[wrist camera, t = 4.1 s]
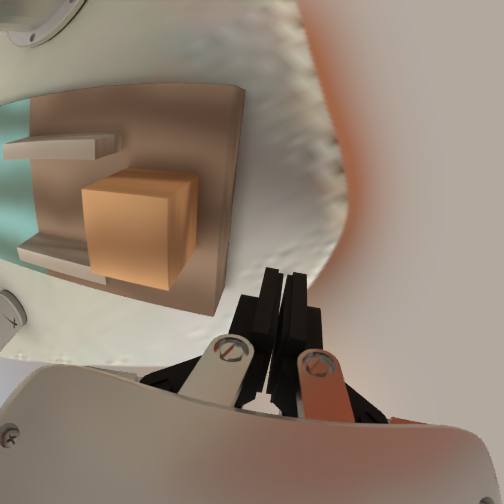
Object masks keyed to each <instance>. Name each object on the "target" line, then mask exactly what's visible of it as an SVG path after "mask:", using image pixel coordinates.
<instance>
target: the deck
mask: <svg viewBox="0 0 504 504" xmlns="http://www.w3.org/2000/svg"><path fill="white" fill-rule="evenodd" d="M244 97H245V90H244V89H242V88H239V87H237V86H235V85H223V84H203V83H147V84H127V85H114V86H103V87H94V88H86V89H79V90H72V91H65V92H59V93H54V94H48V95H43V96H38V97H33V98H29V99H25V100H20V101H16V102H12V103H9V104H5V105H1V106H0V259H3V260H6V261H9V262H12V263H14V264H17V265H20V266H23V267H26V268H29V269H32V270H35V271H38V272H41V273H44V274H47V275H51V276H54V277H57V278H60V279H64V280H67V281H70V282H74V283H77V284H80V285H84V286H87V287H91V288H94V289H98V290H102V291H105V292H109V293H113V294H117V295H120V296H124V297H128V298H132V299H136V300H140V301H144V302H148V303H153V304H157V305H161V306H165V307H170V308H174V309H179V310H183V311H188V312H193V313H197V314H202V315H207V316H212V317H214V314H215V312H216V309H217V306H218V304H219V301H220V298H221V296H222V293H223V290H224V287H225V275H226V264H227V253H228V243H229V232H230V222H231V212H232V202H233V193H234V183H235V174H236V165H237V156H238V147H239V139H240V130H241V122H242V114H243V105H244ZM126 168H139V169H151V170H162V171H172V172H182V173H191V174H200V180H199V195H198V213H197V233H196V249H195V251H194V252H193V254H192V255H191V257H190V258H189V260H188V261H187V263H186V265H185V266H184V268H183V269H182V271H181V272H180V274H179V275H178V277H177V279H176V280H175V282H174V283H173V285H172V286H171V288H170V290H169V291H167V290H162V289H158V288H153V287H149V286H144V285H140V284H136V283H131V282H127V281H123V280H119V279H115V278H111V277H107V276H103V275H99V274H95V273H92V272H91V266H90V260H89V254H88V247H87V240H86V232H85V223H84V214H83V203H82V190H81V189H83V188H85V187H87V186H89V185H91V184H93V183H95V182H97V181H99V180H101V179H104V178H106V177H108V176H110V175H112V174H114V173H117V172H119V171H121V170H123V169H126Z"/></svg>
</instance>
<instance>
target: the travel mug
mask: <svg viewBox="0 0 504 504" xmlns="http://www.w3.org/2000/svg"><path fill="white" fill-rule="evenodd" d="M25 323H26V315H25V312H24V310H23V308H22V306H21V304H20V303H19V302H18V300H17V299H16V298H15V297H14V296H13V295H12V294H11V293H9V292H8V291H1V292H0V351H1V350H2V349H3V348H4V347H5V346H6V344H7V343H8V342H9V341H10V340H11V339H12V338H13V337H14V335H15V334H16V333H17V332H18V331H19V330H20V329H21V328H22V327H23V326H24V325H25Z"/></svg>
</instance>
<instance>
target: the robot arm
mask: <svg viewBox="0 0 504 504" xmlns="http://www.w3.org/2000/svg"><path fill="white" fill-rule="evenodd" d="M84 1H85V0H0V31H7V34H8V37H9V39H10V41H11V42H12V43H13V44H15V45H16V46H20V47H34V46H37V45H40V44H42V43H44V42H46V41H47V40H49V39H50V38H52V37H53V36H54V35H56V34H57V33H58V32H59V31H60V30H61V29H62V28H63V27H64V26H65V25H66V24H67V23H68V22H69V21H70V20H71V19H72V17H73V16H74V15H75V14H76V12H77V11H78V10H79V8H80V7H81V6H82V4H83V3H84ZM283 275H284V274H282V273H279V269H274V268H268V267H266V269H265V273H264V278H263V282H262V286H261V291H260V295H259V298H258V297H253V296H248V295H241V296H240V299H239V302H238V306H237V309H236V312H235V315H234V318H233V321H232V324H231V327H230V330H229V333H228V334H225V335H220V336H218V337H216V338H214V339H213V340H212V341H211V343H210V344H209V346H208V347H207V349H206V350H205V352H204V354H203V355H202V356H199V357H196V358H193V359H191V360H188V361H185V362H182V363H179V364H176V365H173V366H171V367H168V368H165V369H162V370H159V371H156V372H153V373H150V374H148V375H146V376H144V377H137V374H135V373H128V372H121V371H114V370H108V369H101V368H95V367H90V366H77V365H66V364H53V365H46V366H43V367H41V368H39V369H37V370H35V371H34V372H32V373H31V374H30V375H29V376H27V377H26V378H25V379H24V380H23V381H22V382H21V383H20V384H19V385H18V387H17V388H16V389H15V390H14V391H13V392H12V393H11V395H10V396H9V397H8V399H7V400H6V401H5V403H4V404H3V405H2V407H1V408H0V504H502V502H501V496H500V490H499V485H498V481H497V477H496V473H495V469H494V466H493V463H492V460H491V457H490V455H489V452H488V450H487V448H486V446H485V444H484V442H483V441H482V440H481V439H480V438H479V437H478V436H477V435H475V434H473V433H472V432H469V431H467V430H463V429H460V428H457V427H452V426H446V425H434V424H426V423H420V422H415V421H409V420H405V419H400V418H395V417H391V418H390V419H386V417H385V415H384V414H382V412H381V411H379V410H378V409H377V408H376V407H374V406H373V405H372V404H370V403H369V402H368V401H367V400H366V399H364V398H363V397H362V396H361V395H360V394H358V393H357V392H356V391H355V390H354V389H352V388H351V387H350V386H349V385H348V384H346V383H345V381H344V378H343V374H342V371H341V367H340V364H339V362H338V360H337V359H336V357H335V356H334V355H332V354H331V353H329V352H327V351H324V350H323V341H322V323H321V310H320V308H315V307H309V306H307V274H302V273H296V272H293V275H287V279H286V284H285V289H284V293H283V298H282V303H281V307H280V300H281V292H282V283H283ZM279 308H280V311H279ZM271 354H272V357H271ZM270 358H271V364H270V371H269V378H268V384H267V390H266V393H267V394H271V401H270V402H271V403H274V404H275V405H276V406H277V407H278V408H279V409H280V410H279V415H273V414H267V413H261V412H255V411H249V410H244V409H243V406H244V404H246V403H248V402H250V401H252V400H254V399H255V396H256V392H262V390H263V385H264V382H265V378H266V374H267V370H268V366H269V362H270Z"/></svg>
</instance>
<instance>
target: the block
mask: <svg viewBox="0 0 504 504" xmlns="http://www.w3.org/2000/svg"><path fill="white" fill-rule="evenodd" d="M199 180H200V174H191V173H182V172H172V171H162V170H151V169H139V168H126V169H123V170H121V171H119V172H117V173H114V174H112V175H110V176H108V177H106V178H104V179H101V180H99V181H97V182H95V183H93V184H91V185H89V186H87V187H85V188H83V189H81V190H82V203H83V214H84V223H85V232H86V240H87V247H88V254H89V260H90V266H91V272H92V273H95V274H99V275H103V276H107V277H111V278H115V279H119V280H123V281H127V282H131V283H136V284H140V285H144V286H149V287H153V288H158V289H162V290H167V291H169V290H170V288H171V286H172V285H173V283H174V282H175V280H176V279H177V277H178V275H179V274H180V272H181V271H182V269H183V268H184V266H185V265H186V263H187V261H188V260H189V258H190V257H191V255H192V254H193V252H194V251H195V249H196V233H197V213H198V195H199Z"/></svg>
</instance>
